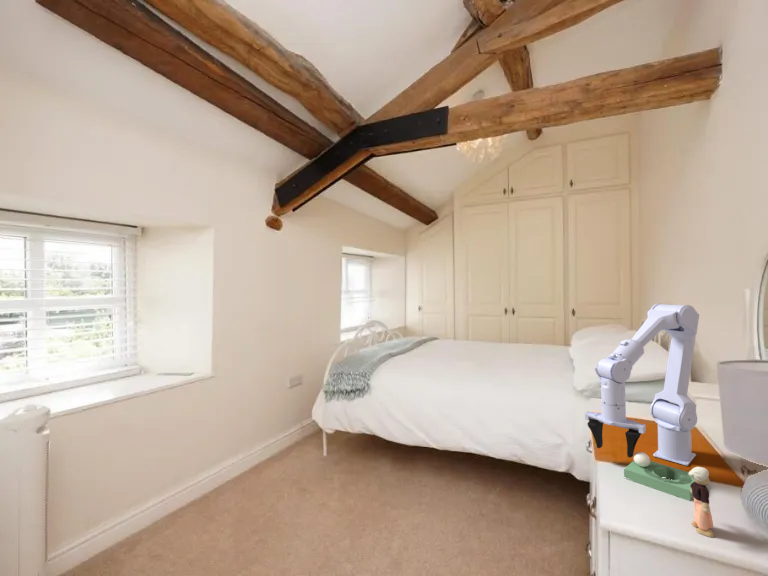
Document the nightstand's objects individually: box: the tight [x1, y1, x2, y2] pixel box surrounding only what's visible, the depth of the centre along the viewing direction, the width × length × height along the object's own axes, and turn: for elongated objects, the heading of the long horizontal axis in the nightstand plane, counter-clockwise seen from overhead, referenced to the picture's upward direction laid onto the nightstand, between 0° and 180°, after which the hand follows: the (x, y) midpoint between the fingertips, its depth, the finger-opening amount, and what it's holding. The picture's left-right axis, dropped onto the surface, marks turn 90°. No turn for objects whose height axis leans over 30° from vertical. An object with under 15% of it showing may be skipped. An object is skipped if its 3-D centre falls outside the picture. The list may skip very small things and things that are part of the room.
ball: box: [633, 451, 651, 467], centre depth 98 cm, size 4×4×4 cm
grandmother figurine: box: [688, 466, 715, 538], centre depth 77 cm, size 8×4×13 cm, turn 168°
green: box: [623, 460, 695, 502], centre depth 95 cm, size 10×14×2 cm
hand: (614, 451), depth 103 cm, fingers open, 7 cm apart
